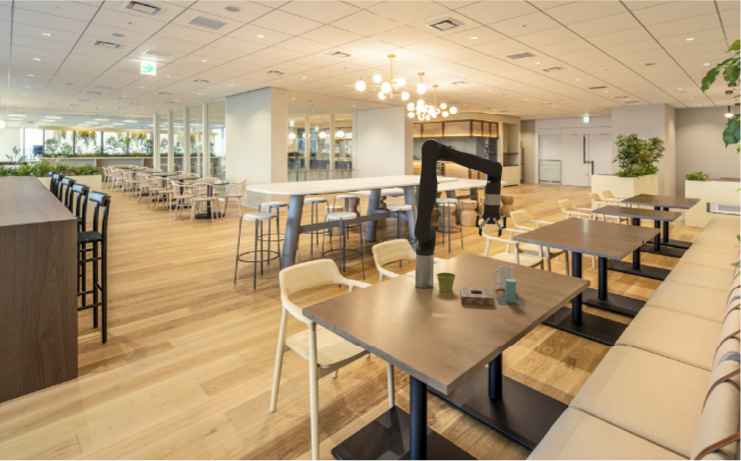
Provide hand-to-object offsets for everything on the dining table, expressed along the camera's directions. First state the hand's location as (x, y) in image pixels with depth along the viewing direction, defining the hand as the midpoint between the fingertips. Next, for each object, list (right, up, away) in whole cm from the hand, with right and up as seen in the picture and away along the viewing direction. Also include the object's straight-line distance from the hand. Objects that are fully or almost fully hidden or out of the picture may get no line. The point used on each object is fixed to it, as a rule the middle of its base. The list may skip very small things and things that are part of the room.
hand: (489, 236), depth 195 cm
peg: (+6, -30, -11) cm, 32 cm away
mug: (+9, -27, +9) cm, 30 cm away
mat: (+6, -31, -11) cm, 33 cm away
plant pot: (-20, -28, +6) cm, 35 cm away
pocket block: (-9, -30, -8) cm, 33 cm away
